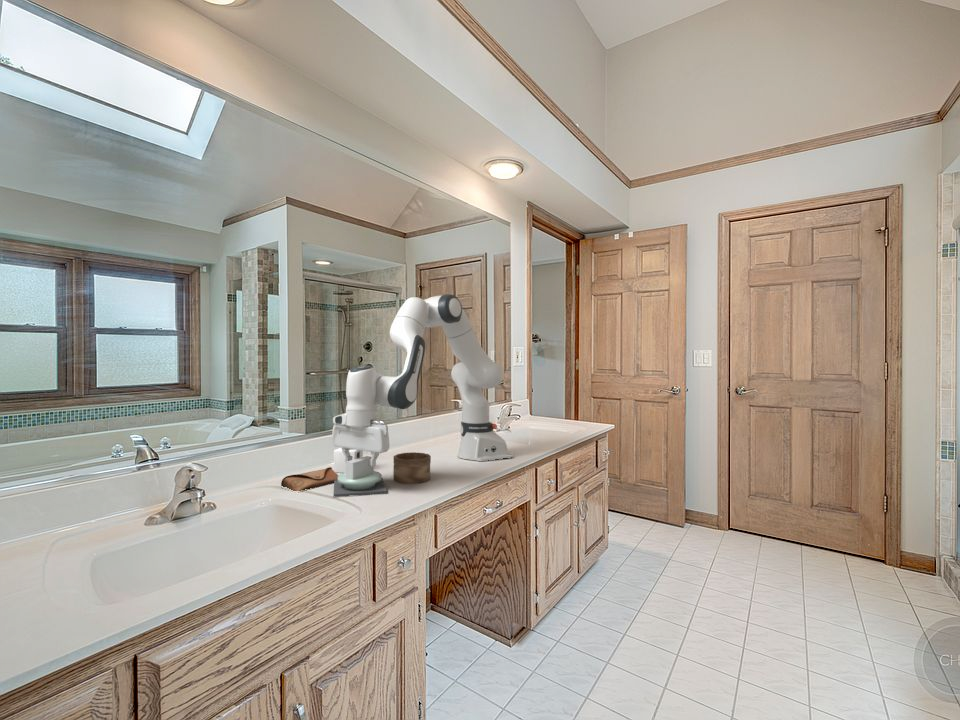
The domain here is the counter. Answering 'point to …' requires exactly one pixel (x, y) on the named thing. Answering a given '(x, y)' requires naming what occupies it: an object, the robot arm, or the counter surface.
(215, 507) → the counter surface
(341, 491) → the mat
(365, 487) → the lid
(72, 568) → the counter surface
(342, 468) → the container
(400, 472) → the canister
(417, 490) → the counter surface
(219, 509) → the counter surface
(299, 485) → the sunglasses case
